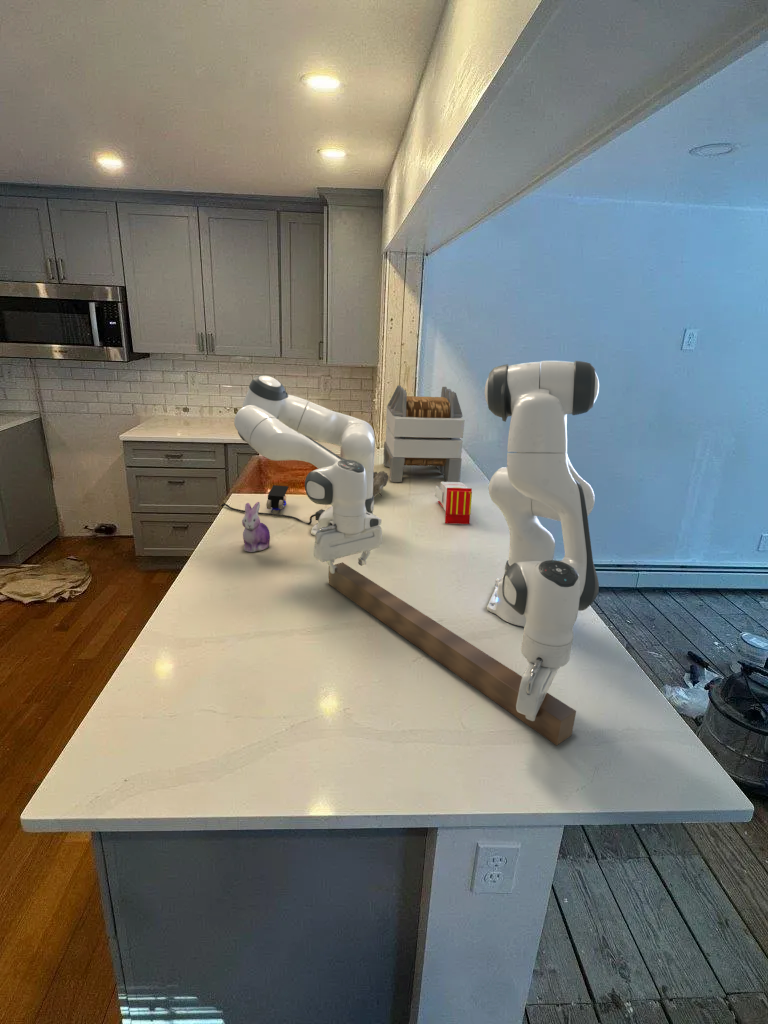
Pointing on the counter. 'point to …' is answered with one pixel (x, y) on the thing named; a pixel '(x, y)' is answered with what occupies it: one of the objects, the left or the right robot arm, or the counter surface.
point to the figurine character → (277, 498)
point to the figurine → (254, 530)
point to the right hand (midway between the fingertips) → (536, 707)
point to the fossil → (379, 482)
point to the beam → (453, 652)
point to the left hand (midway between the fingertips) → (348, 568)
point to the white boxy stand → (424, 433)
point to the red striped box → (455, 502)
